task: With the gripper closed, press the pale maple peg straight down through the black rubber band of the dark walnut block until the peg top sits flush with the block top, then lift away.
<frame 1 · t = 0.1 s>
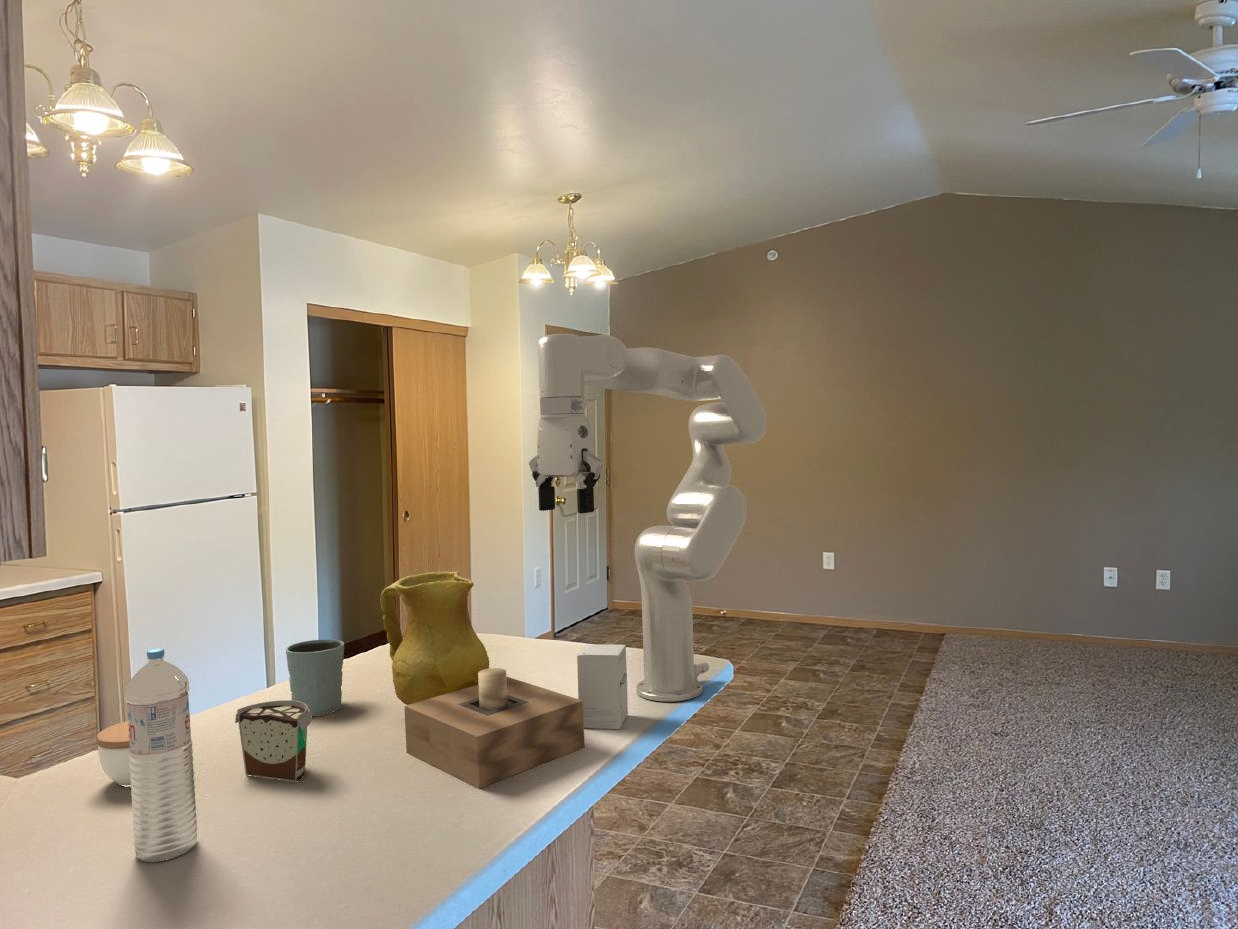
hand: (566, 511, 137), 37 cm above the worktop, tool pointing down, fingers open, 9 cm apart
peg: (493, 694, 130), point 9 cm above the worktop, slide at 0.0 cm
peg block: (495, 750, 130), on the worktop
grey-green cup: (318, 710, 153), on the worktop
food container: (285, 772, 125), on the worktop
water bottle: (167, 851, 101), on the worktop
lidded jar: (141, 780, 124), on the worktop
supplement box: (604, 722, 141), on the worktop
pitcher: (441, 713, 149), on the worktop
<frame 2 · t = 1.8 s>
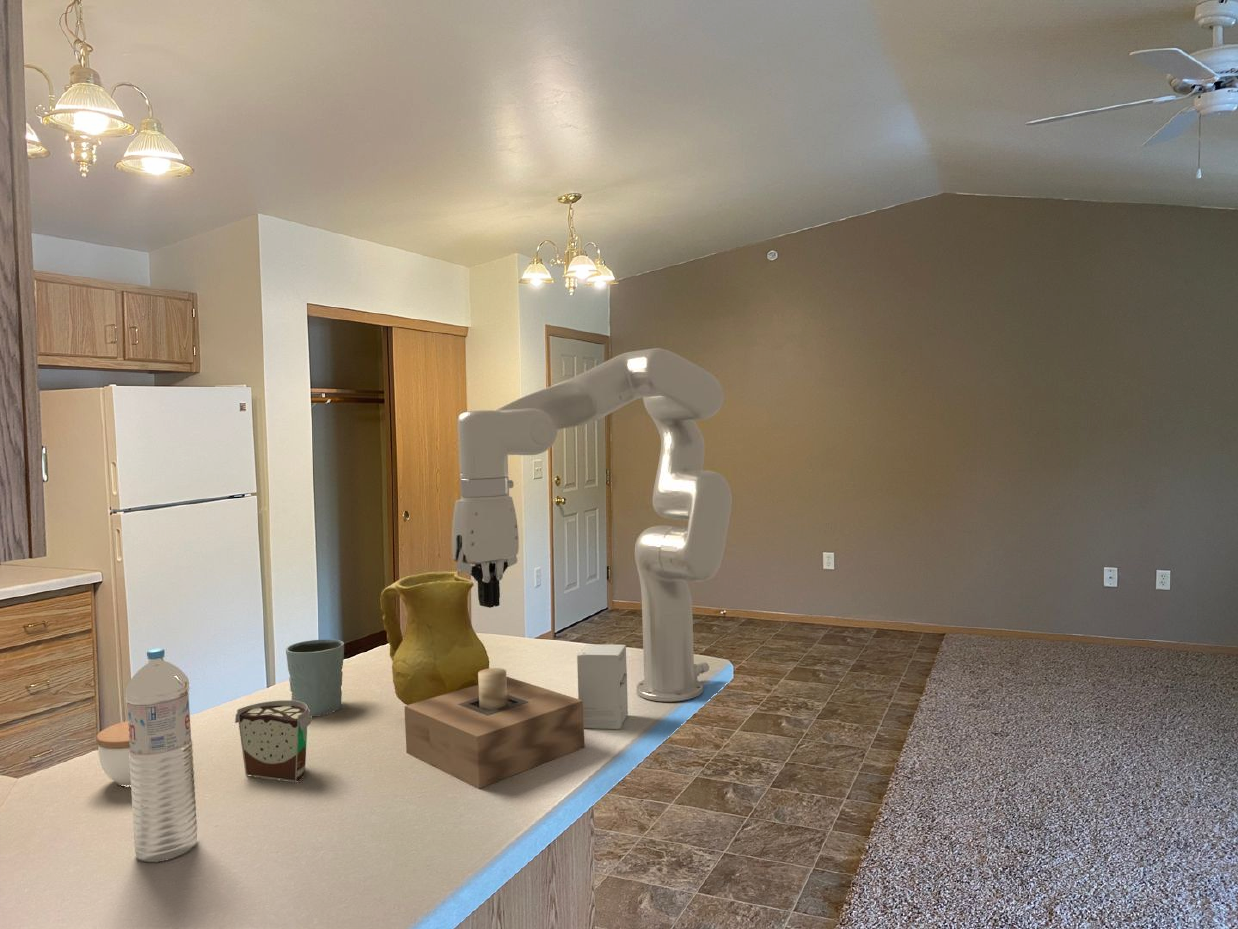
hand: (489, 605, 129), 23 cm above the worktop, tool pointing down, fingers closed
nothing on the worktop moved.
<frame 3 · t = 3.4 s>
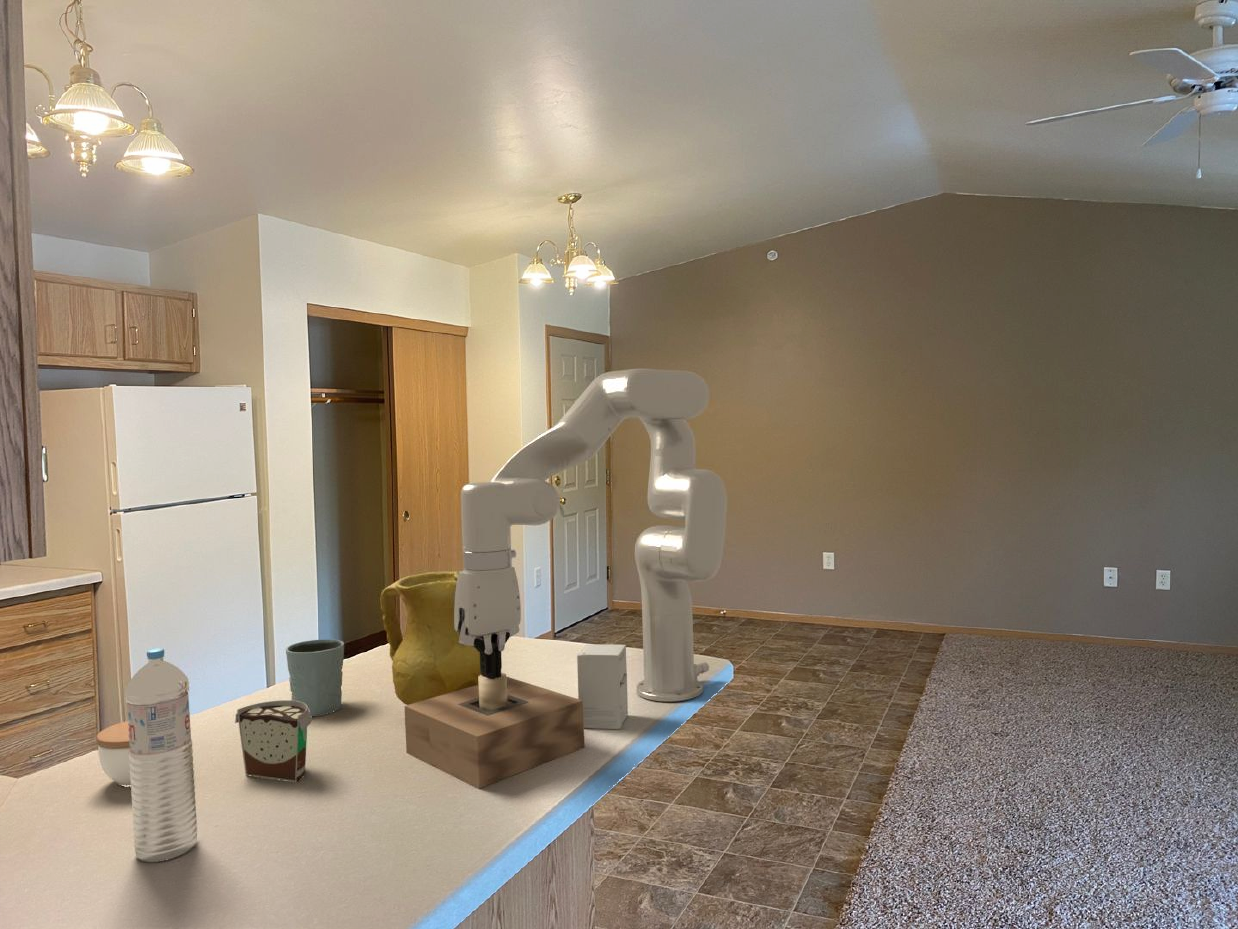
hand: (491, 676, 129), 12 cm above the worktop, tool pointing down, fingers closed
peg: (493, 698, 130), point 8 cm above the worktop, slide at 0.7 cm, touching gripper
everything else where it was.
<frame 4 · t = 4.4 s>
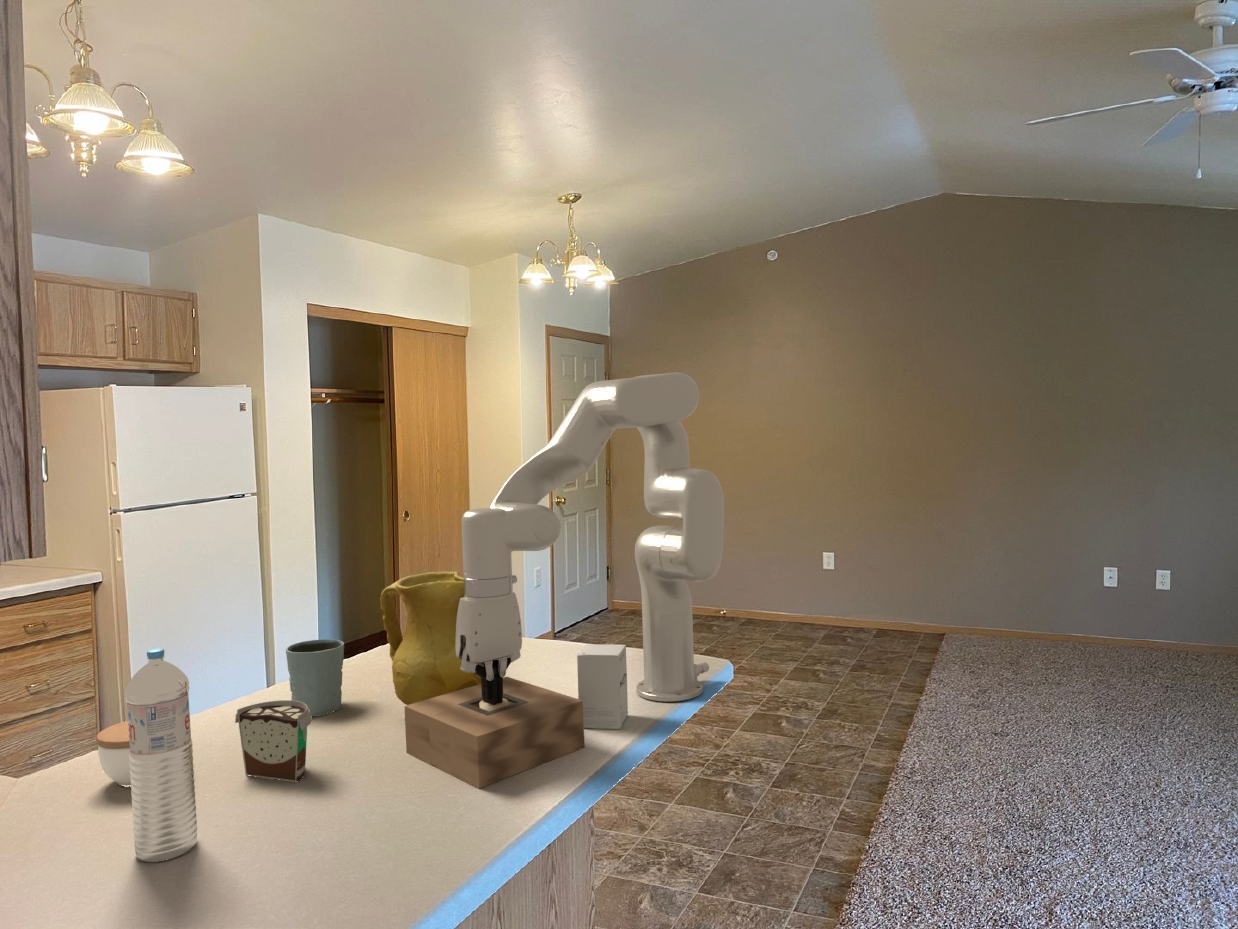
hand: (492, 702, 130), 8 cm above the worktop, tool pointing down, fingers closed
peg: (494, 724, 130), point 4 cm above the worktop, slide at 4.8 cm, touching gripper
everything else where it was.
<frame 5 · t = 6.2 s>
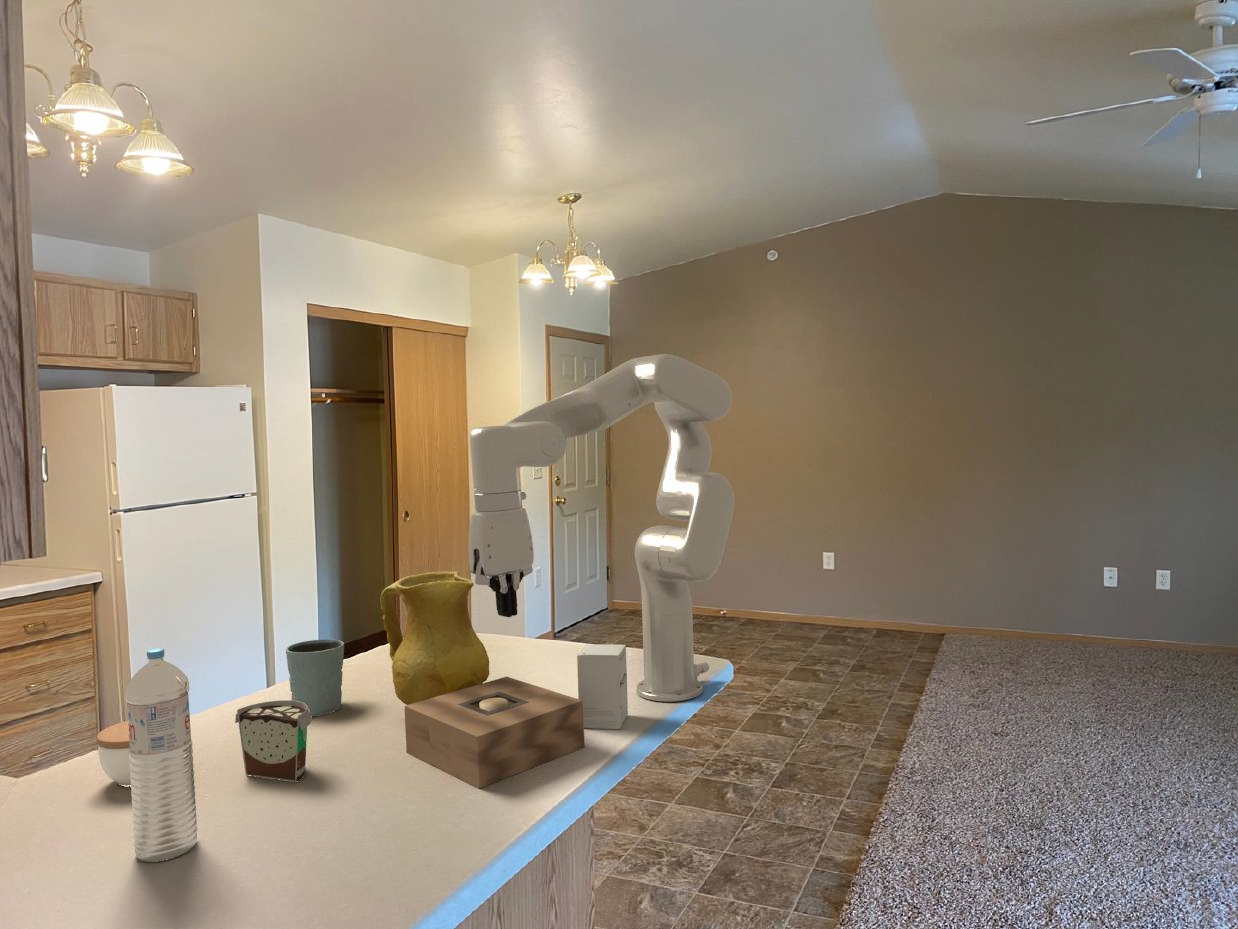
hand: (507, 615, 133), 21 cm above the worktop, tool pointing down, fingers closed
peg: (494, 724, 130), point 4 cm above the worktop, slide at 4.8 cm
everything else where it was.
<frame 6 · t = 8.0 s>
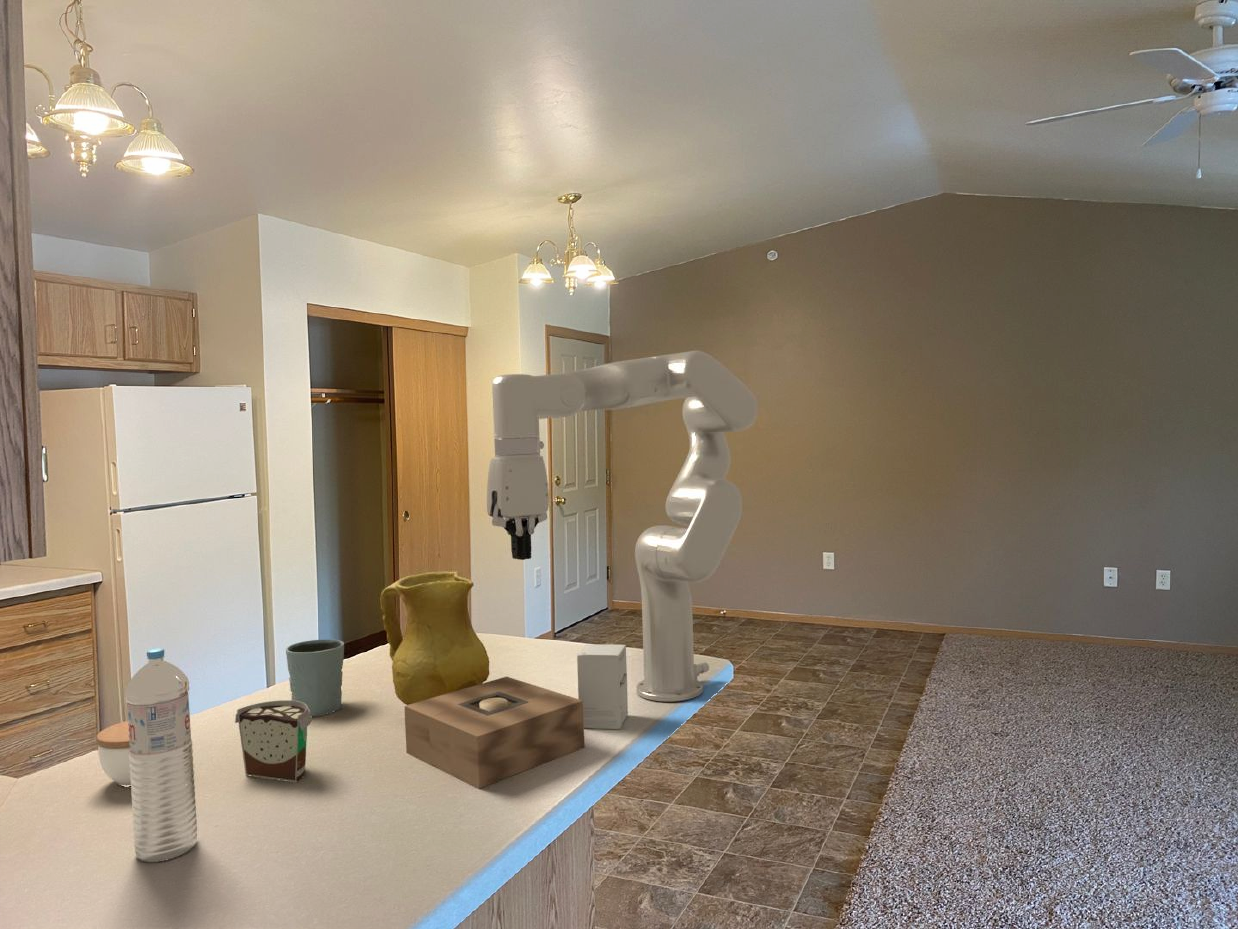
hand: (521, 558, 137), 29 cm above the worktop, tool pointing down, fingers closed
nothing on the worktop moved.
at the end: peg slide at 4.8 cm; supplement box moved 0.2 cm from its start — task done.
